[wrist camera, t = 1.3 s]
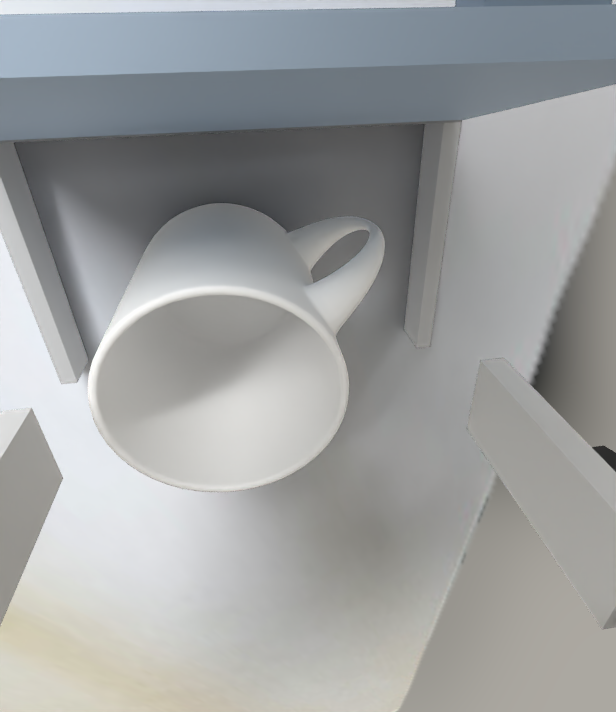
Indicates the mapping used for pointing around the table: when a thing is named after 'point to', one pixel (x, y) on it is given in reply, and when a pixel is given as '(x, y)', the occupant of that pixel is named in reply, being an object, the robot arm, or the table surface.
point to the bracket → (50, 304)
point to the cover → (293, 67)
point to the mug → (229, 349)
